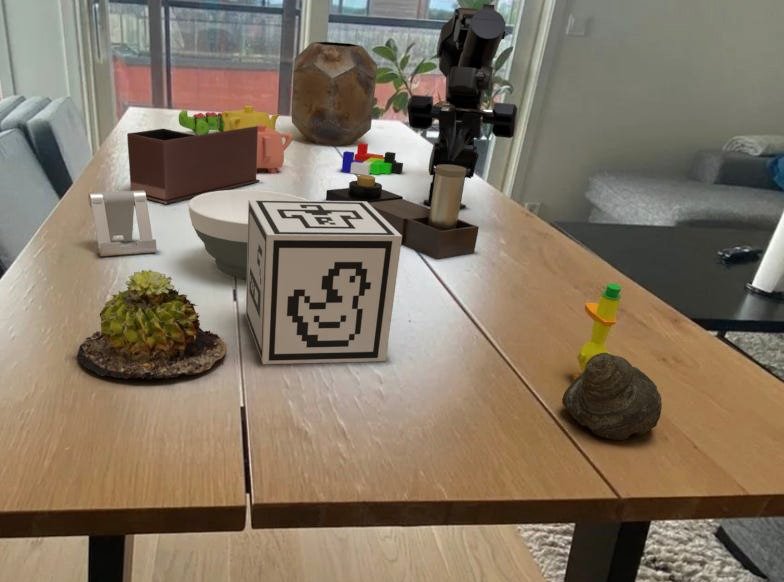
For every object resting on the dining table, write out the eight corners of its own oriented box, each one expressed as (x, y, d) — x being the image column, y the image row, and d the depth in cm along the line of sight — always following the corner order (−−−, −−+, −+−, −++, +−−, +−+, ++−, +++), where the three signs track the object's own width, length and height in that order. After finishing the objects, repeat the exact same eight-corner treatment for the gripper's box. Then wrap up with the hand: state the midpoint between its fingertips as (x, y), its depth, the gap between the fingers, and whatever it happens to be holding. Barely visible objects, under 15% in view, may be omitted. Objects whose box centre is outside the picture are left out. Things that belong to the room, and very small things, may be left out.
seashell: (534, 348, 83) (567, 389, 74) (638, 294, 80) (684, 330, 72) (567, 427, 89) (601, 473, 80) (665, 379, 86) (712, 421, 78)
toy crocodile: (243, 131, 219) (243, 107, 216) (251, 135, 214) (251, 111, 211) (175, 131, 212) (175, 107, 208) (182, 136, 207) (182, 111, 203)
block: (262, 364, 90) (267, 234, 81) (245, 316, 102) (248, 199, 94) (385, 361, 93) (402, 235, 84) (354, 314, 105) (366, 201, 97)
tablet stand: (102, 258, 118) (97, 202, 113) (90, 243, 124) (86, 189, 119) (156, 254, 121) (154, 199, 117) (143, 239, 127) (140, 187, 122)
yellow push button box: (371, 196, 163) (373, 176, 161) (401, 207, 156) (404, 187, 154) (325, 201, 157) (327, 180, 155) (355, 213, 150) (357, 192, 148)
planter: (317, 130, 228) (323, 38, 214) (387, 144, 216) (398, 48, 203) (271, 138, 212) (275, 40, 199) (344, 153, 201) (353, 50, 188)
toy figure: (557, 368, 94) (582, 272, 87) (584, 368, 94) (612, 273, 88) (580, 393, 88) (610, 293, 82) (609, 393, 89) (641, 293, 82)
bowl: (218, 297, 107) (218, 228, 102) (171, 255, 121) (169, 192, 116) (339, 283, 115) (345, 218, 110) (282, 245, 129) (285, 186, 124)
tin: (439, 241, 136) (451, 163, 129) (459, 248, 133) (472, 169, 126) (418, 244, 134) (429, 165, 127) (437, 252, 130) (450, 171, 123)
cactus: (91, 394, 81) (82, 306, 75) (66, 336, 93) (57, 256, 87) (245, 374, 87) (247, 291, 82) (203, 322, 99) (203, 247, 94)
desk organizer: (126, 194, 151) (122, 132, 145) (222, 174, 172) (222, 119, 166) (166, 205, 146) (163, 141, 140) (259, 182, 167) (261, 126, 161)
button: (366, 183, 157) (367, 174, 156) (378, 187, 154) (379, 178, 153) (353, 184, 155) (353, 175, 154) (363, 188, 152) (364, 179, 151)
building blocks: (394, 179, 178) (396, 159, 176) (341, 171, 181) (342, 152, 179) (407, 167, 190) (410, 149, 188) (358, 161, 193) (359, 142, 191)
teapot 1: (273, 146, 203) (274, 103, 197) (279, 156, 193) (281, 111, 187) (221, 144, 201) (221, 101, 195) (225, 154, 190) (225, 108, 185)
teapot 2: (251, 162, 185) (251, 118, 179) (293, 170, 180) (295, 125, 175) (223, 169, 176) (223, 123, 171) (267, 177, 171) (269, 130, 166)
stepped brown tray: (400, 223, 146) (403, 198, 144) (474, 253, 133) (479, 226, 130) (361, 228, 141) (363, 203, 139) (434, 259, 128) (438, 232, 126)
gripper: (416, 42, 130) (394, 122, 128) (528, 50, 125) (507, 134, 123) (420, 87, 141) (399, 163, 138) (523, 97, 136) (504, 175, 134)
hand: (450, 158), depth 133 cm, fingers closed
